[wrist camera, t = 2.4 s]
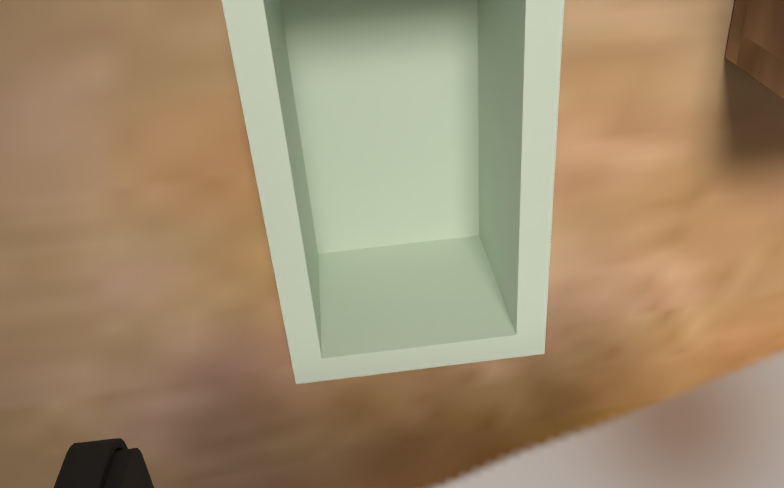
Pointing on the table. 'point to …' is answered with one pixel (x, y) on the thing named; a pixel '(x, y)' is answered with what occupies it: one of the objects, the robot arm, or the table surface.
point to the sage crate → (403, 175)
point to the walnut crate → (759, 41)
